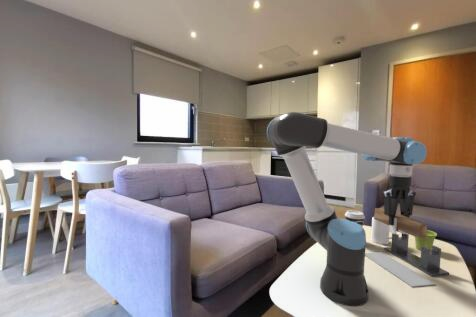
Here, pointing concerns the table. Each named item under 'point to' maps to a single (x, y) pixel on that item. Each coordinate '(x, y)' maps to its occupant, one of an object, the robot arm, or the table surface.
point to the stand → (425, 263)
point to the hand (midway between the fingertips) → (397, 232)
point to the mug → (380, 232)
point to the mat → (399, 270)
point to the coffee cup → (355, 217)
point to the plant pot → (426, 240)
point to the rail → (403, 223)
